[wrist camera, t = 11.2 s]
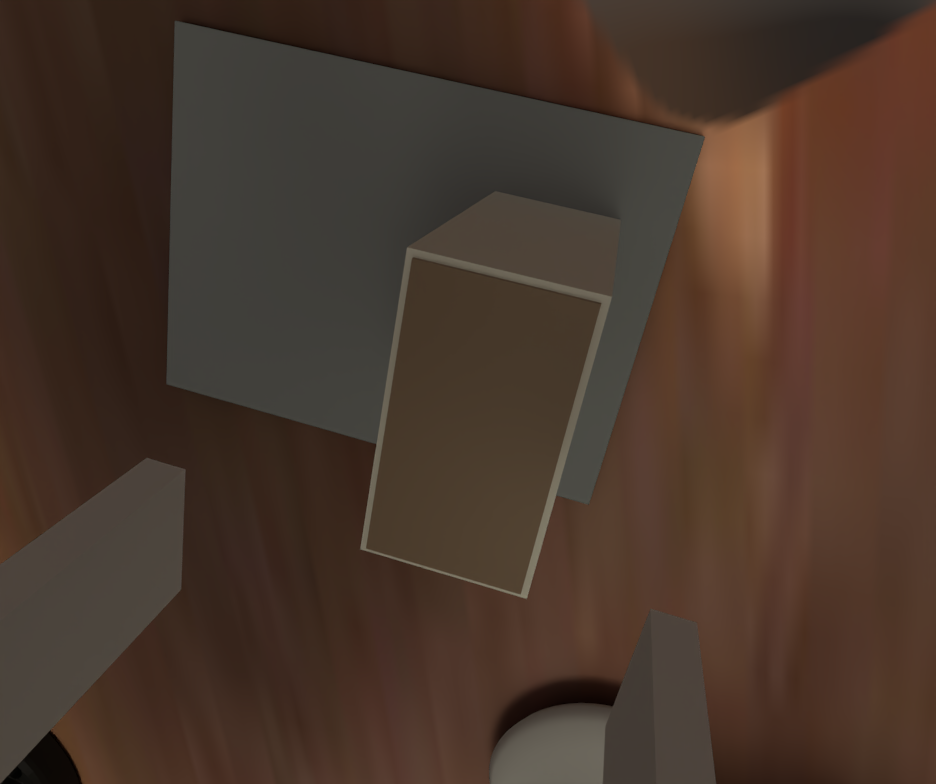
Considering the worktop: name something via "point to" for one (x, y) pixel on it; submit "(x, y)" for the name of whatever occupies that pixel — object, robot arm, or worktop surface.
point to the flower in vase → (553, 747)
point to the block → (487, 386)
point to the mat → (377, 221)
